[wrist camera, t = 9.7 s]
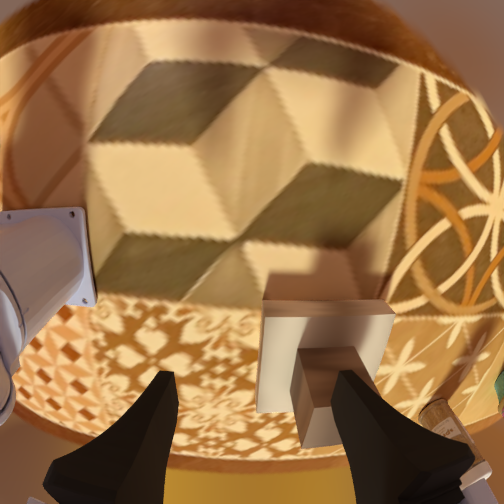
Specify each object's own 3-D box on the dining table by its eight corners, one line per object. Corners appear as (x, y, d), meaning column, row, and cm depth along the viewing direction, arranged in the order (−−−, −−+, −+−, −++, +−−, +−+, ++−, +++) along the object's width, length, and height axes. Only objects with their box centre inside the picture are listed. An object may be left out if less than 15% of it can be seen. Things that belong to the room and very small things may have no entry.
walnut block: (289, 391, 22) (301, 448, 17) (297, 348, 21) (314, 408, 15) (341, 387, 23) (362, 440, 17) (353, 346, 21) (382, 399, 16)
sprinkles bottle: (425, 401, 28) (472, 482, 15) (451, 394, 28) (500, 466, 16) (412, 425, 30) (451, 502, 17) (438, 417, 30) (479, 487, 17)
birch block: (254, 389, 26) (256, 413, 23) (261, 296, 23) (265, 317, 20) (354, 384, 27) (364, 404, 24) (380, 296, 23) (395, 313, 21)
